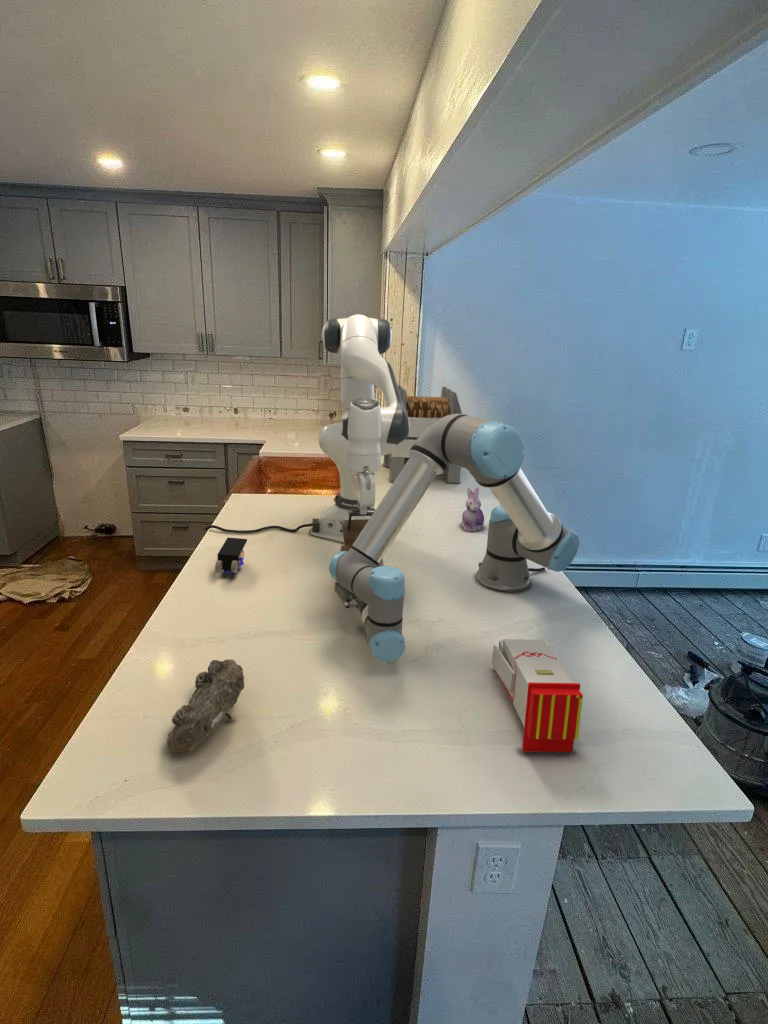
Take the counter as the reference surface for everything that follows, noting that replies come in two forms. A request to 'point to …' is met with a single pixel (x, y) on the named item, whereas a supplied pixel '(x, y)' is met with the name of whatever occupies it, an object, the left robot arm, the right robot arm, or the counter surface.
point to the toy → (539, 694)
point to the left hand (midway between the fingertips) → (361, 511)
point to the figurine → (473, 512)
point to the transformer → (423, 428)
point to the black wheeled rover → (230, 556)
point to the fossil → (206, 705)
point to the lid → (355, 528)
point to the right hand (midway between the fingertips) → (363, 572)
